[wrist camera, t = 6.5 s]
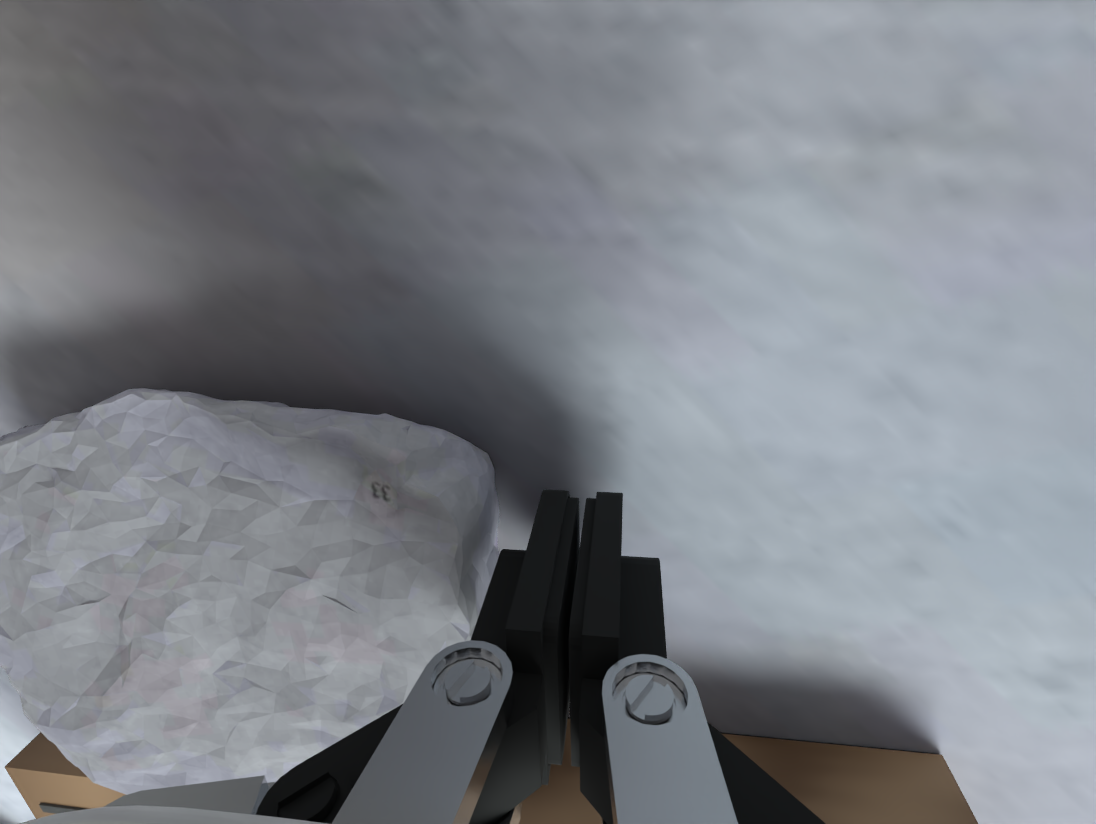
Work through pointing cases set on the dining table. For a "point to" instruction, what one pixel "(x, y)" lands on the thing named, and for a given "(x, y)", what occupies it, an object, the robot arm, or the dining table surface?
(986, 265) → the dining table surface
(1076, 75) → the dining table surface
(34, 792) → the brown wooden board
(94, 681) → the stone block
